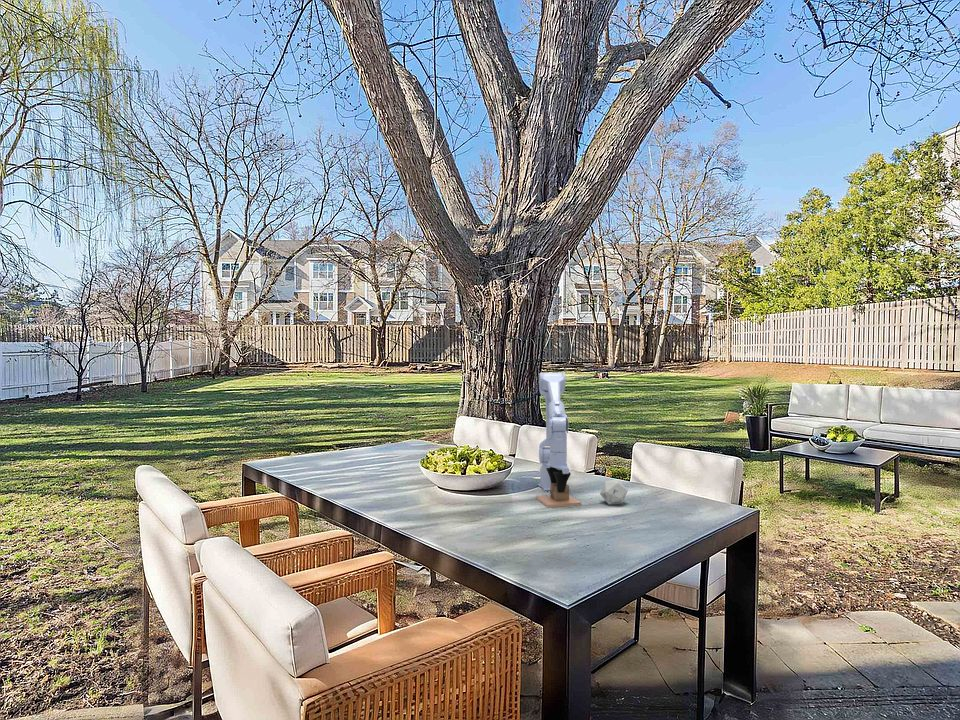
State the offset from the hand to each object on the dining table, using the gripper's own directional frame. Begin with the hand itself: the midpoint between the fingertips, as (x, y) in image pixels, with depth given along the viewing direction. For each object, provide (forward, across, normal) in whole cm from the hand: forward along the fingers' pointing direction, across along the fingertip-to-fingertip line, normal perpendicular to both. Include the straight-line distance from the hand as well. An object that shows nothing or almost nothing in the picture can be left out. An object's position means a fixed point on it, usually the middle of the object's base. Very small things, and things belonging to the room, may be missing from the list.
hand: (558, 490), depth 201 cm
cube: (+3, 0, +1) cm, 3 cm away
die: (+4, +6, +18) cm, 19 cm away
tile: (+4, 0, 0) cm, 4 cm away
